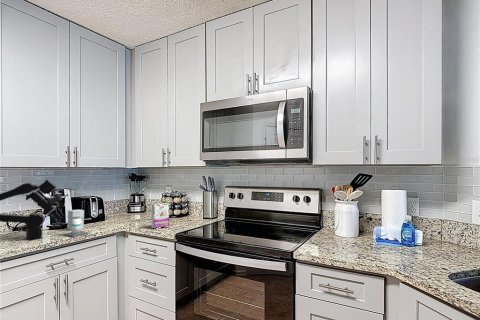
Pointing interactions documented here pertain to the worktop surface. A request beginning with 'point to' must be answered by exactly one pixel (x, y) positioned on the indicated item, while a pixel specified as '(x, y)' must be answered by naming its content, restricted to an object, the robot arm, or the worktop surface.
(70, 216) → the supplement box
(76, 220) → the cartridge
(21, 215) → the robot arm
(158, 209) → the candy bar box
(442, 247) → the worktop surface
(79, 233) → the mat
